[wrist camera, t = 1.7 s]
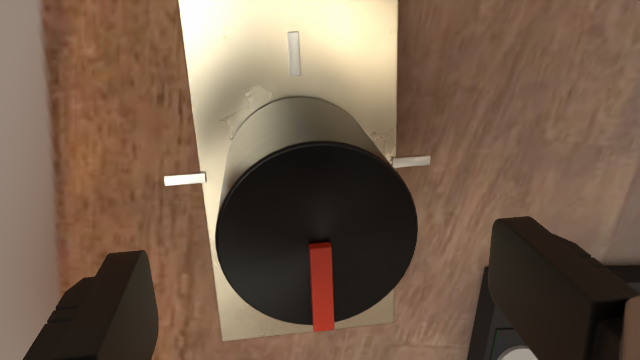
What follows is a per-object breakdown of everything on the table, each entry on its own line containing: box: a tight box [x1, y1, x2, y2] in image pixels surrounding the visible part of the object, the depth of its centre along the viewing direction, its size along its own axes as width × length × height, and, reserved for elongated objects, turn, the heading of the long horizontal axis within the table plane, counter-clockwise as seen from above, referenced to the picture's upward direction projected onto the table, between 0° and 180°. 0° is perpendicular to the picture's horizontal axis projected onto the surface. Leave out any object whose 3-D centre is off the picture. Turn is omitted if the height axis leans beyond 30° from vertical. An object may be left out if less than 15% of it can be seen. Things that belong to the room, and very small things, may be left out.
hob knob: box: [215, 97, 418, 332], centre depth 15 cm, size 5×5×6 cm
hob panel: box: [164, 0, 430, 341], centre depth 19 cm, size 14×9×3 cm
